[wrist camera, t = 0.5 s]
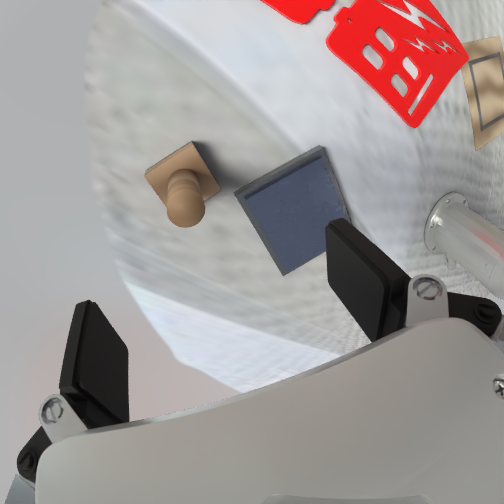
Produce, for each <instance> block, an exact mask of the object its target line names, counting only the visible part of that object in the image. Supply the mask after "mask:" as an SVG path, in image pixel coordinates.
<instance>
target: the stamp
mask: <svg viewBox="0 0 504 504" xmlns="http://www.w3.org/2000/svg"><path fill="white" fill-rule="evenodd" d="M144 177H145V178H146V179H147V181H148V182H149V184H150V185H151V186H152V188H153V189H154V191H155V192H156V193H157V195H158V196H159V198H160V199H161V200H162V202H163V203H164V204H165V206H166V207H167V215H168V217H169V219H170V221H171V222H172V223H173V224H175V225H177V226H179V227H184V228H185V227H192V226H194V225H196V224H198V223H199V222H200V221H201V220H202V218H203V216H204V214H205V205H204V200H206V199H208V198H209V197H211V196H213V195H214V194H216V193H218V192H219V191H221V189H220V187H219V185H218V183H217V181H216V179H215V178H214V176H213V175H212V173H211V171H210V170H209V168H208V167H207V165H206V163H205V162H204V160H203V159H202V157H201V155H200V154H199V152H198V151H197V149H196V147H195V146H194V144H193V142H192V141H191V142H189V143H187V144H186V145H184V146H183V147H181V148H179V149H178V150H176V151H175V152H173V153H172V154H170V155H168V156H167V157H165V158H164V159H162V160H161V161H159V162H158V163H156V164H155V165H153V166H152V167H150V168H149V169H147V170H146V173H145V176H144Z"/></svg>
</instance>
